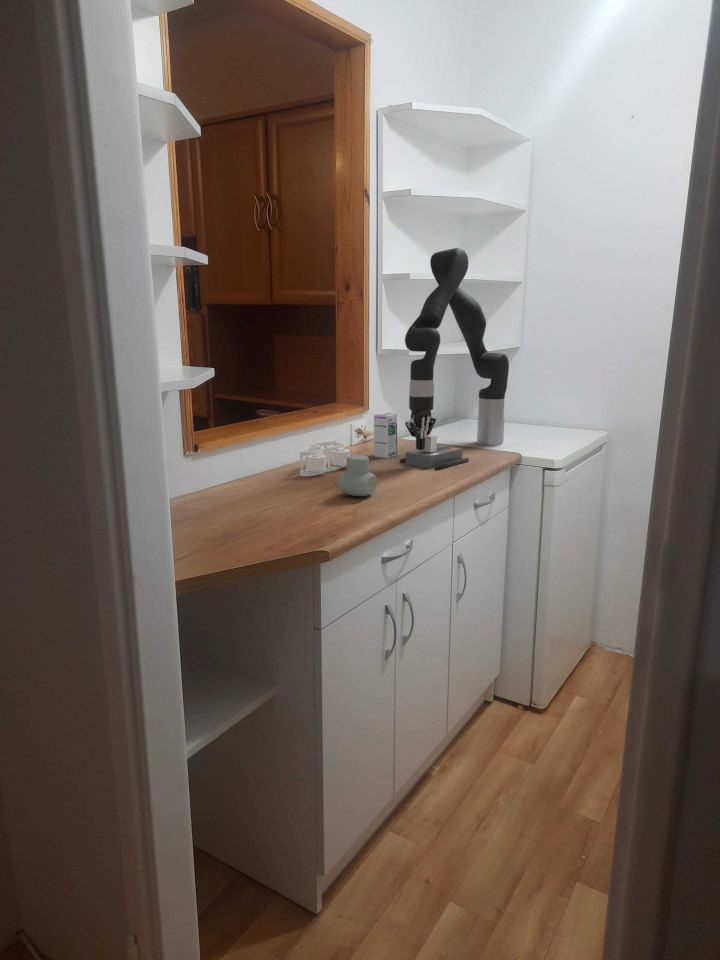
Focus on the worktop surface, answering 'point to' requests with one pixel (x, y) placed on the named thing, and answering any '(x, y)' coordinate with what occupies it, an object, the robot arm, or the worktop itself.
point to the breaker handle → (430, 443)
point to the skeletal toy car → (323, 458)
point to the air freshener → (357, 477)
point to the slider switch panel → (444, 463)
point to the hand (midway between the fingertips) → (420, 449)
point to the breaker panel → (433, 456)
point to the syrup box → (385, 435)
